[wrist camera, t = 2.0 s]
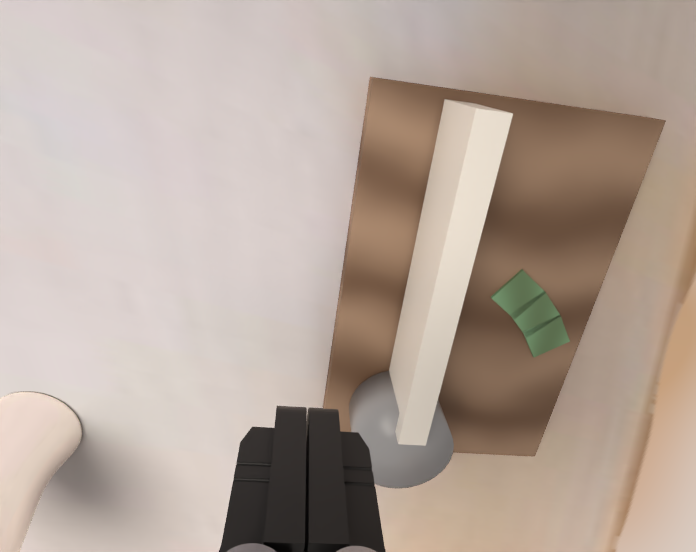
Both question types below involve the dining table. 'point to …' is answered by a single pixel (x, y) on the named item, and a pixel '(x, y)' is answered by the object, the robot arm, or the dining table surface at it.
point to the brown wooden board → (488, 255)
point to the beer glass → (30, 457)
